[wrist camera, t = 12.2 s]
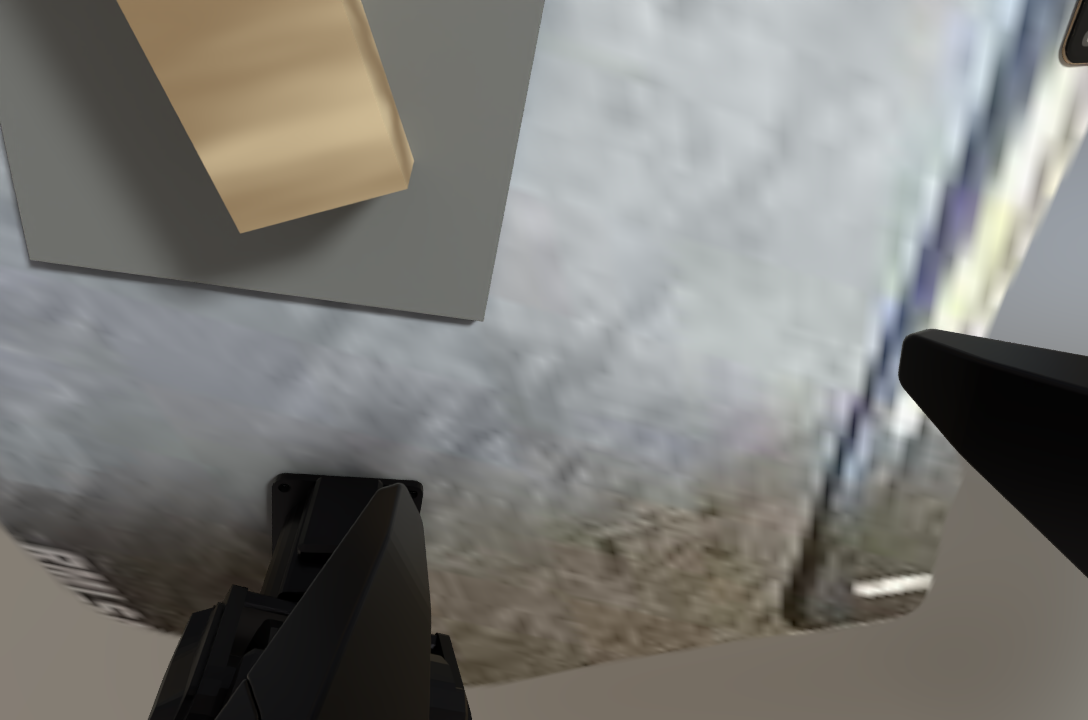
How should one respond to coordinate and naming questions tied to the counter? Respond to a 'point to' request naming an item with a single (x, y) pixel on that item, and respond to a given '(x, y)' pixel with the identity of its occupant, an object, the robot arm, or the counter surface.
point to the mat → (195, 204)
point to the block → (278, 101)
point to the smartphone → (1077, 37)
